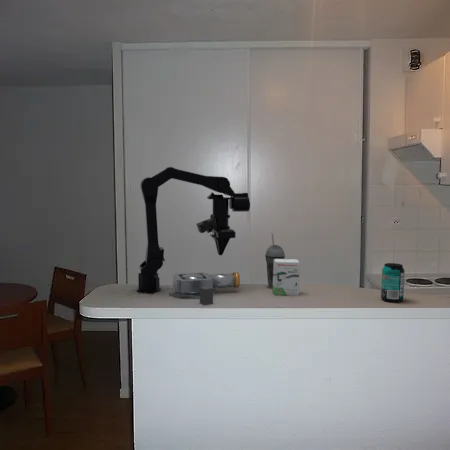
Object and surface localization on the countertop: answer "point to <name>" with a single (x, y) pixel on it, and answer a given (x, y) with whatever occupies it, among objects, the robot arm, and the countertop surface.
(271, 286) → the beverage cup
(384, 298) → the beverage can
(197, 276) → the duct stub
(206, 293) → the block
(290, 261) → the ink box
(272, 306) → the countertop surface
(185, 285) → the flanged pipe fitting
